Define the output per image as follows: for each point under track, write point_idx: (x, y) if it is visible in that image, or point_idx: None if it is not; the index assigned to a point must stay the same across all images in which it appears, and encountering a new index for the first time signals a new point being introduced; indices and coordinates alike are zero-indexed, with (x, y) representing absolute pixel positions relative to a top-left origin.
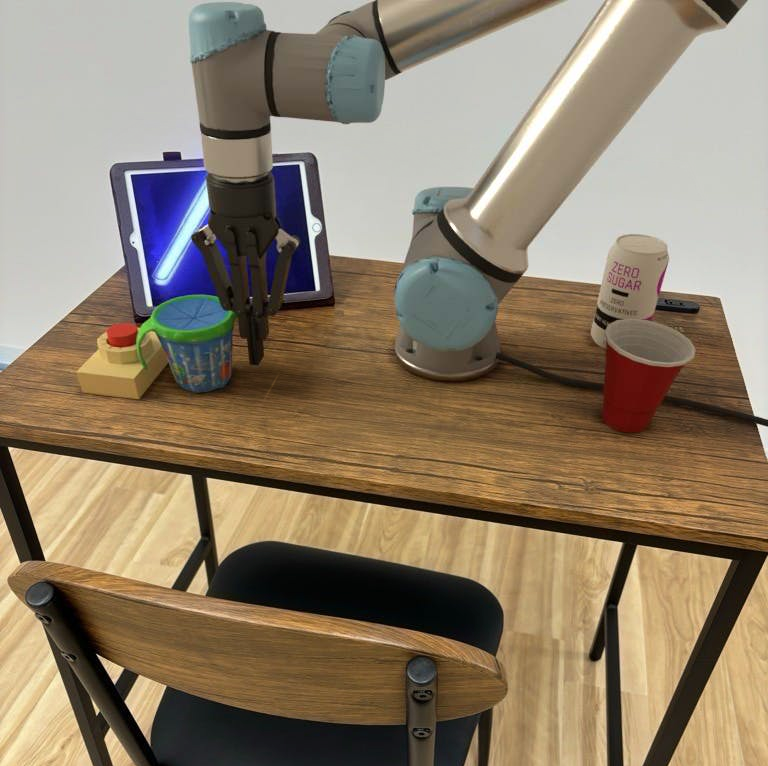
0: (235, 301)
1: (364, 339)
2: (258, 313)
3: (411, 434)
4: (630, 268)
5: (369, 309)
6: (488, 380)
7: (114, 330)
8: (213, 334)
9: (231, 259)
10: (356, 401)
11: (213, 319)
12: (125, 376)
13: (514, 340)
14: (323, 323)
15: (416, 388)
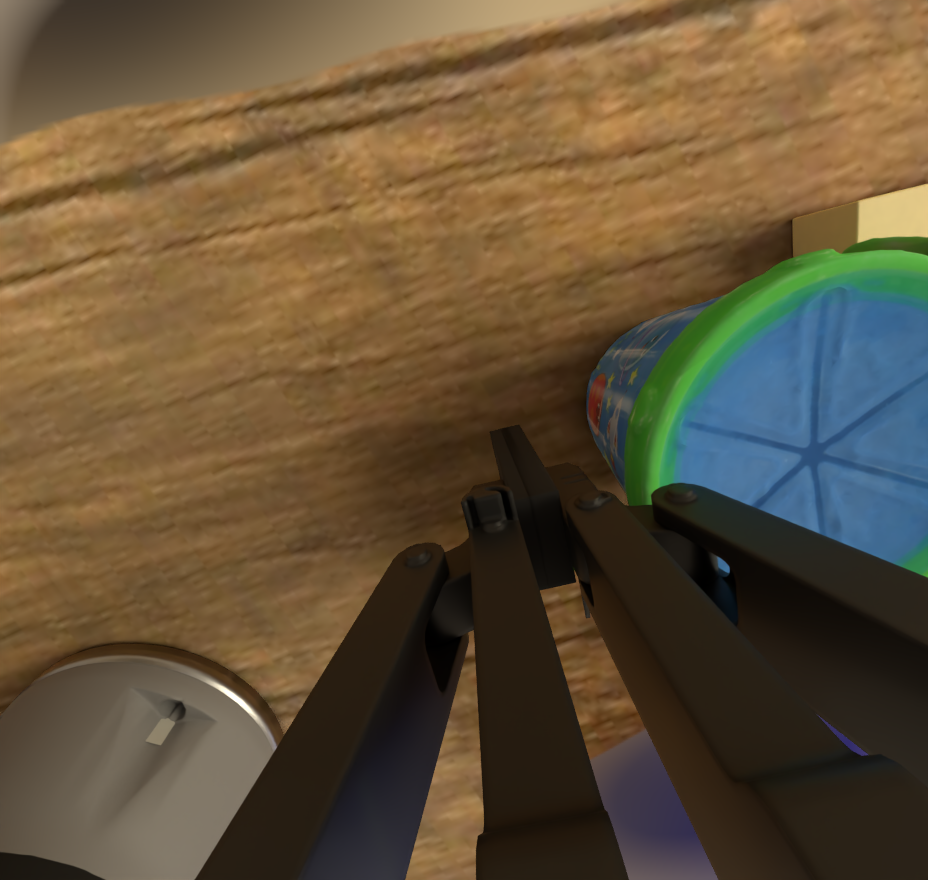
0: (636, 528)
1: None
2: (490, 527)
3: (7, 407)
4: None
5: (433, 833)
6: (6, 696)
7: None
8: (663, 366)
9: (900, 835)
10: (229, 482)
11: (720, 469)
12: (892, 199)
13: None
14: None
15: (132, 597)
